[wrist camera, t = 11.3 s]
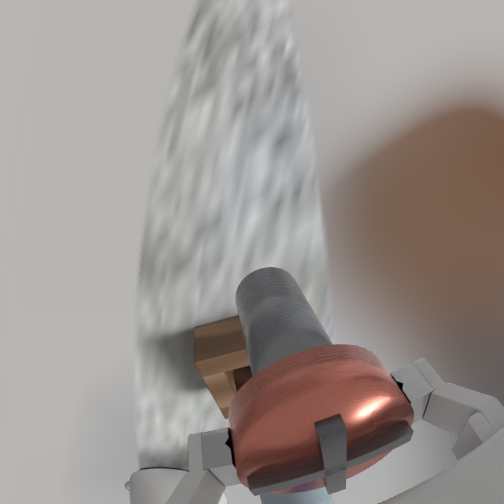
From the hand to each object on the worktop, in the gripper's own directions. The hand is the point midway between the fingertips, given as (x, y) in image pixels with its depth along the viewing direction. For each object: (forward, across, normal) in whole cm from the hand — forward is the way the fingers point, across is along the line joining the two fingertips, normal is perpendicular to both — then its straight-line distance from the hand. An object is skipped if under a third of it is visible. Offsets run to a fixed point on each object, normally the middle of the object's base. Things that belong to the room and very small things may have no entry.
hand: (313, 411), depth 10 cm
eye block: (+18, -3, -12) cm, 22 cm away
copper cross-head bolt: (+8, 0, 0) cm, 8 cm away
